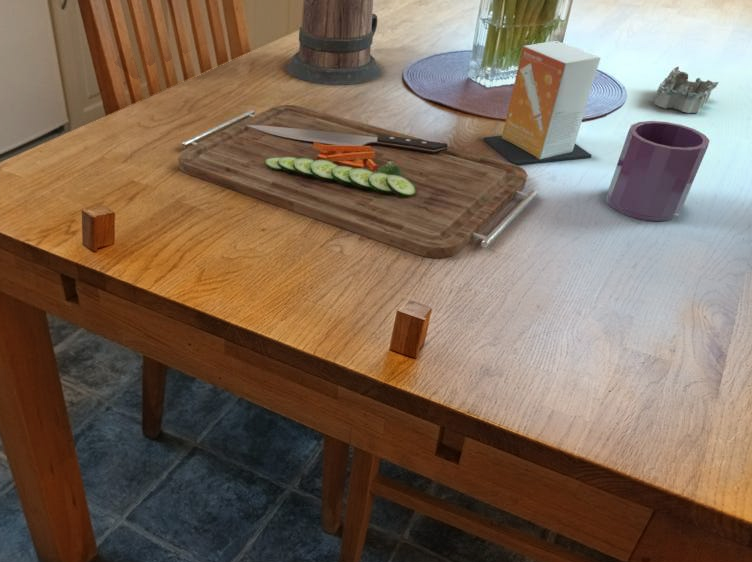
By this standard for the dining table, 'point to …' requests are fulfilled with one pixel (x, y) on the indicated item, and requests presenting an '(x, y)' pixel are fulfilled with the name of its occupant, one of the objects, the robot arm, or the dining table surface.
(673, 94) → the egg carton
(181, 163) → the chopping board
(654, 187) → the plum cup
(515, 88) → the small box
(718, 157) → the dining table surface
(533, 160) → the coaster pad
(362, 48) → the tankard
